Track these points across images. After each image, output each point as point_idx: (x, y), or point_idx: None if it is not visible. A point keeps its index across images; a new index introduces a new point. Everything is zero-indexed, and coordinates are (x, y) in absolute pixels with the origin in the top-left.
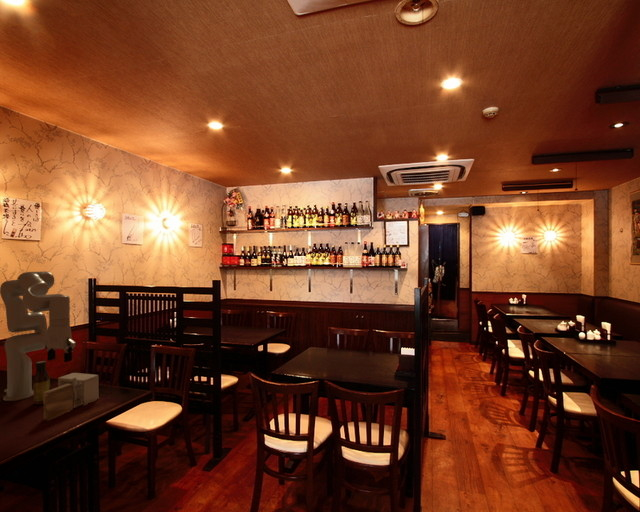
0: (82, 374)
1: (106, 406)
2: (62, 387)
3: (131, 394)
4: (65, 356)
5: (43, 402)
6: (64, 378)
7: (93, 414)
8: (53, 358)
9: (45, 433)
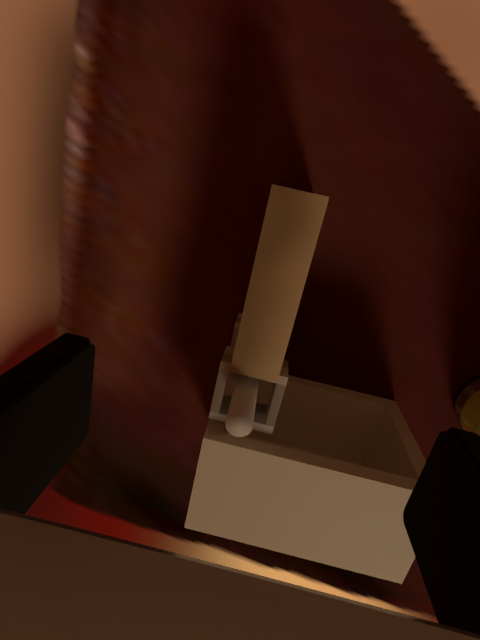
0: (307, 546)
1: (111, 348)
2: (253, 305)
3: (98, 470)
4: (4, 381)
5: (467, 387)
6: (383, 482)
7: (102, 260)
8: (416, 500)
9: (170, 26)
